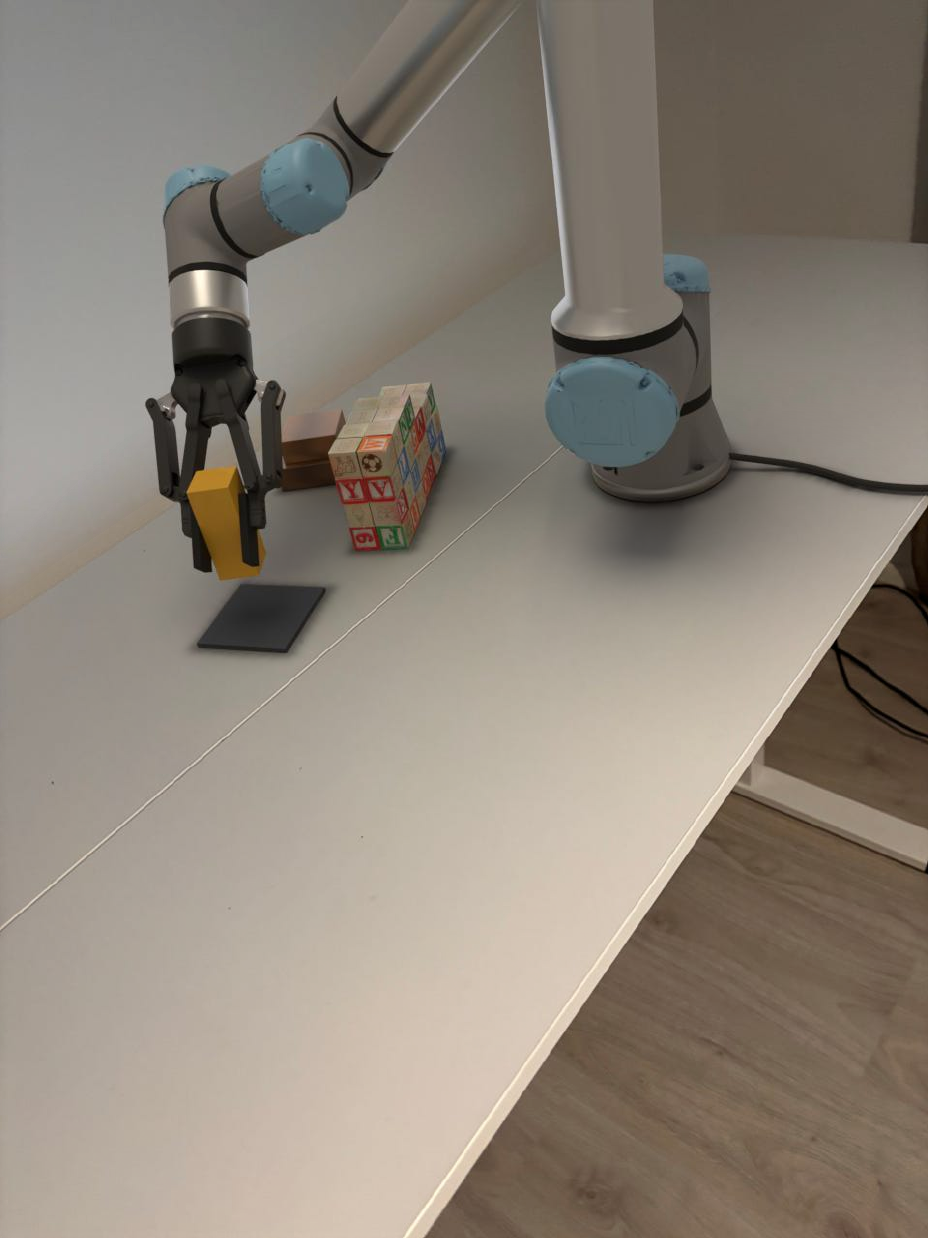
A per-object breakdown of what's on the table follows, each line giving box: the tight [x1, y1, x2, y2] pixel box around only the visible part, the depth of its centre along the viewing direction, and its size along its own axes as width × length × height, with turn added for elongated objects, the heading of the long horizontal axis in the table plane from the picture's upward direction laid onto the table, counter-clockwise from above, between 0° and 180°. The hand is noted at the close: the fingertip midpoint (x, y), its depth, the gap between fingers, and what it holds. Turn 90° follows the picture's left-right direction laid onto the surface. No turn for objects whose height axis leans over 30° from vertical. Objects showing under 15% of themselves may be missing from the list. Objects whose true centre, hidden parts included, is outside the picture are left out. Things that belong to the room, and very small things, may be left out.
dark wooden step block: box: [280, 408, 347, 492], centre depth 127 cm, size 9×9×6 cm
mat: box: [196, 583, 326, 653], centre depth 105 cm, size 10×10×1 cm
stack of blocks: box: [328, 382, 447, 551], centre depth 116 cm, size 21×6×12 cm, turn 169°
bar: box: [187, 465, 267, 581], centre depth 98 cm, size 4×4×10 cm
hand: (227, 566), depth 96 cm, fingers closed on bar, 4 cm apart
